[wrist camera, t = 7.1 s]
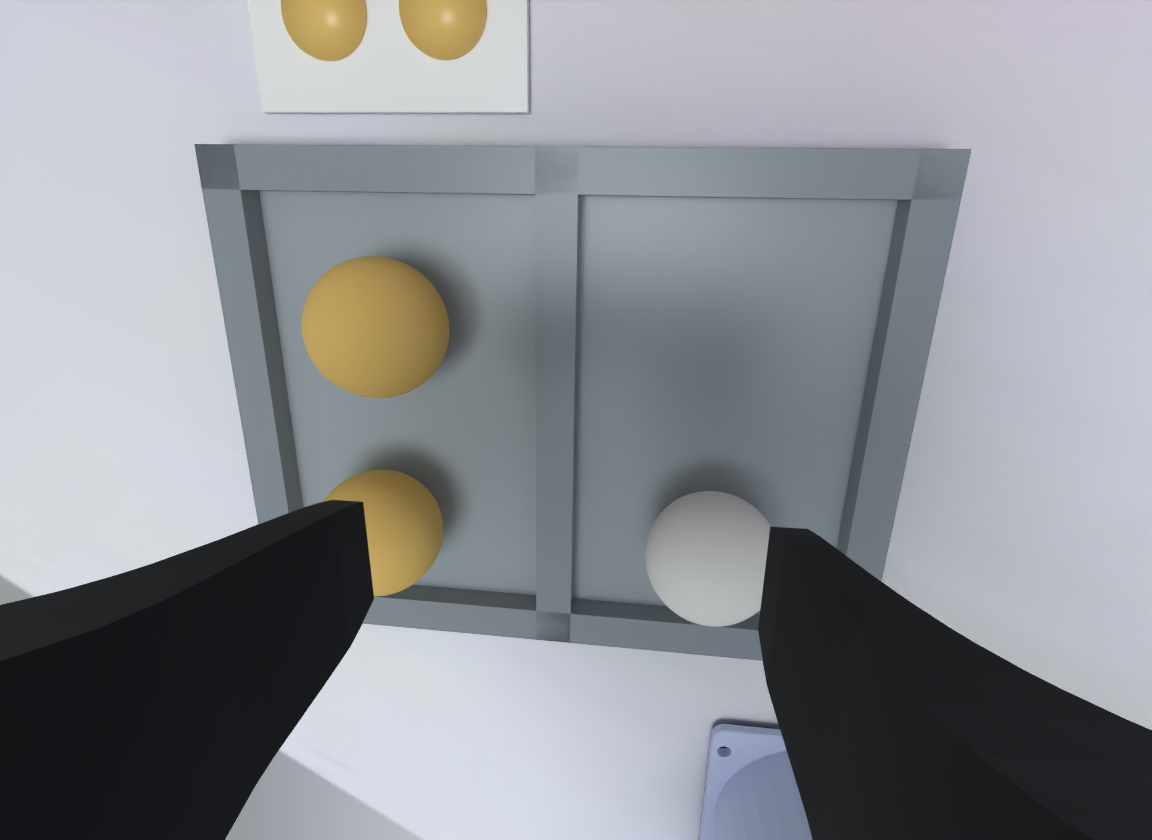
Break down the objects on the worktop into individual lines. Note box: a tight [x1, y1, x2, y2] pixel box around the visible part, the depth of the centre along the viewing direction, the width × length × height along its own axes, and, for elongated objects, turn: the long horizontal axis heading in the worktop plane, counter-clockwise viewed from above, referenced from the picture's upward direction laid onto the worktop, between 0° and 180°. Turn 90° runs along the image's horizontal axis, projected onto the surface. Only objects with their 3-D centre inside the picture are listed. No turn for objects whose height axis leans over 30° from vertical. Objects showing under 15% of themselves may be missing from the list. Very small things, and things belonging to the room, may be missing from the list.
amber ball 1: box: [301, 256, 449, 398], centre depth 17 cm, size 4×4×4 cm
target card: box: [247, 0, 530, 114], centre depth 17 cm, size 5×8×1 cm, turn 89°
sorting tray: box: [195, 144, 971, 661], centre depth 19 cm, size 16×21×1 cm
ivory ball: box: [645, 491, 771, 627], centre depth 18 cm, size 4×4×4 cm
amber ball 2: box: [323, 470, 443, 596], centre depth 19 cm, size 4×4×4 cm
